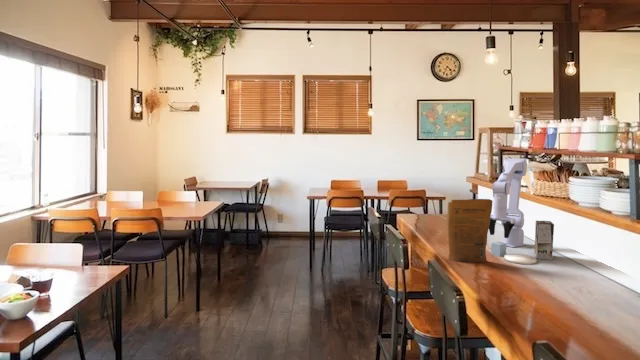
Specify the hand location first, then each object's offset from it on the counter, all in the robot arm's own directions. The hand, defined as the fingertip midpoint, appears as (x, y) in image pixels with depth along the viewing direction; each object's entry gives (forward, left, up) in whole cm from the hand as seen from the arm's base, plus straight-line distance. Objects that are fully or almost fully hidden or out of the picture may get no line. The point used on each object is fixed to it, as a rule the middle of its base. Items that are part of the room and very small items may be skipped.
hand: (499, 236), depth 196 cm
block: (0, 0, -9) cm, 9 cm away
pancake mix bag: (+21, 0, -9) cm, 23 cm away
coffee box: (-14, +13, -9) cm, 21 cm away
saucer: (0, +11, -9) cm, 14 cm away
